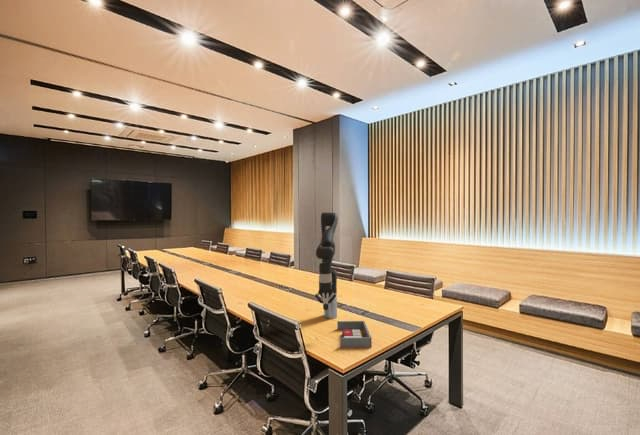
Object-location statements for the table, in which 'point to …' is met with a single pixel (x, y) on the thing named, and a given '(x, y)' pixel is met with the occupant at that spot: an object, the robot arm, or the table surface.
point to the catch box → (354, 341)
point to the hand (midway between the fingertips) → (325, 310)
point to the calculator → (351, 333)
